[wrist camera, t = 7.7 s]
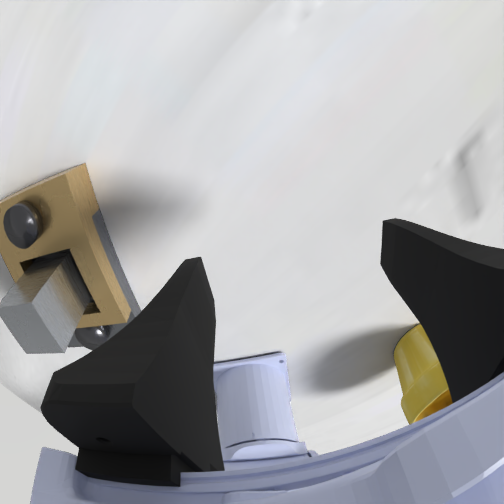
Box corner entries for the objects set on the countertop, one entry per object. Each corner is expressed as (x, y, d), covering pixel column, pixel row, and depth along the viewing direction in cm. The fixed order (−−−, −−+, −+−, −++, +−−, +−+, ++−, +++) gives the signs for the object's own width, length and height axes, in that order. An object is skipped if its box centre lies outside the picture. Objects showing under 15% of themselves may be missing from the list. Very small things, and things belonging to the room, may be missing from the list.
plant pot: (398, 311, 26) (446, 382, 18) (460, 304, 28) (505, 358, 19) (366, 375, 31) (395, 440, 23) (427, 362, 32) (457, 415, 24)
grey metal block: (100, 281, 21) (64, 352, 14) (64, 288, 21) (26, 353, 14) (81, 238, 19) (31, 302, 12) (45, 248, 19) (-5, 308, 12)
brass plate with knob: (150, 328, 24) (142, 364, 20) (73, 336, 24) (59, 367, 20) (85, 162, 17) (55, 179, 13) (4, 198, 17) (-26, 218, 13)
